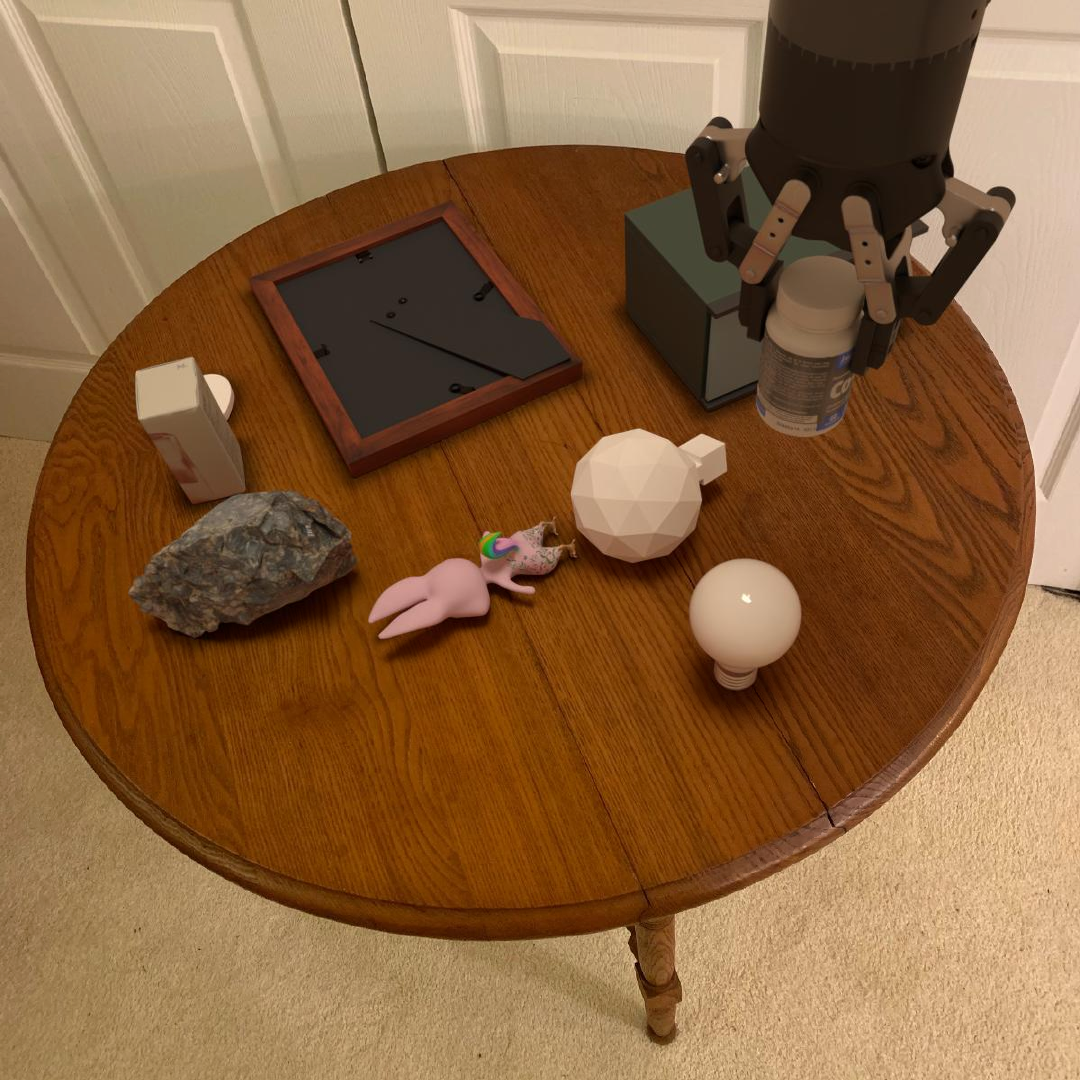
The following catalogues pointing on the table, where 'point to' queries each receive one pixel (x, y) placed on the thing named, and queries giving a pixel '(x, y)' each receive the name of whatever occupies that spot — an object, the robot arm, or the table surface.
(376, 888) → the table surface
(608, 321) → the table surface
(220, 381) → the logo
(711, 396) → the door
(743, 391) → the cabinet
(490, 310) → the picture frame
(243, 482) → the cream cardboard box
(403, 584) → the rabbit figure
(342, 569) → the rock
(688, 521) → the perfume bottle
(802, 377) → the pill bottle
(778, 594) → the lightbulb
